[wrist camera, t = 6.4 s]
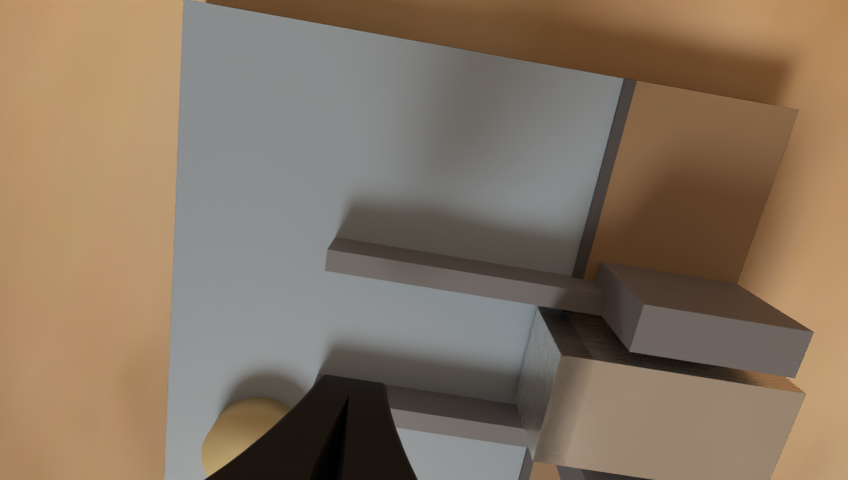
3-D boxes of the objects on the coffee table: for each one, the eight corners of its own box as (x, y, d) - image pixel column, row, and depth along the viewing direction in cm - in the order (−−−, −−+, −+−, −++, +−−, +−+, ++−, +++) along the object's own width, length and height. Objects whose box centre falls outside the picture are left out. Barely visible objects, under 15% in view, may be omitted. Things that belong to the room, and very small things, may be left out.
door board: (179, 487, 19) (106, 604, 14) (203, 6, 14) (107, -30, 10) (616, 550, 19) (669, 681, 15) (767, 108, 15) (903, 114, 11)
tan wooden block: (515, 397, 16) (532, 461, 13) (537, 307, 15) (561, 355, 12) (706, 427, 16) (762, 496, 13) (739, 340, 15) (806, 393, 12)
